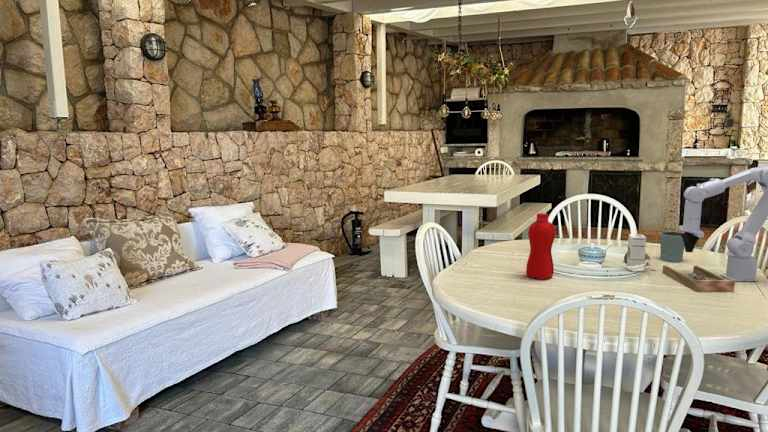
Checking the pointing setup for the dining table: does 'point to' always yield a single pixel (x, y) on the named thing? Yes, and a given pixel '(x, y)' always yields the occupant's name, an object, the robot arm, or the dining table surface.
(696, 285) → the bay
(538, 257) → the water bottle
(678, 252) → the grey cup
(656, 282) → the dining table surface
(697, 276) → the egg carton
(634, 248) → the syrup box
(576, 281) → the dining table surface
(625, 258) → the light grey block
